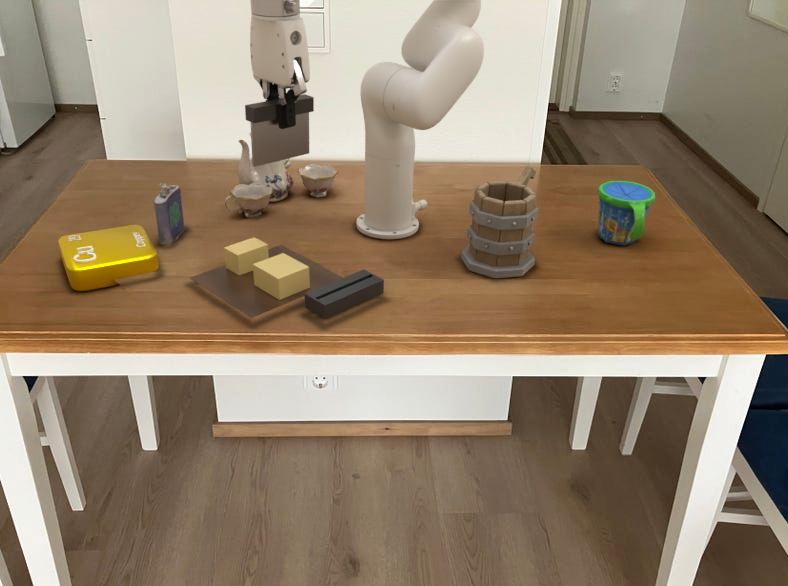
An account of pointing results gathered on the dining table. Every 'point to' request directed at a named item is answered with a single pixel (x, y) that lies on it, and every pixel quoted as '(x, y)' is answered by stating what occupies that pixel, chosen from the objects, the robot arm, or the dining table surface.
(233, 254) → the butter slice
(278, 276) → the butter
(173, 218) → the flask
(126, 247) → the element tile
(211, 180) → the dining table surface
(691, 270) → the dining table surface
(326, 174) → the chinaware
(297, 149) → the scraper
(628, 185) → the snack cup
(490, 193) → the tankard
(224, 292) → the cutting board
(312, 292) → the scraper stand
